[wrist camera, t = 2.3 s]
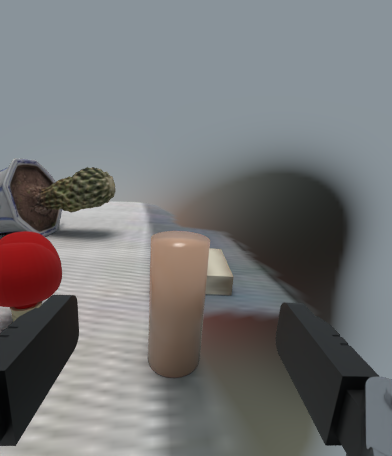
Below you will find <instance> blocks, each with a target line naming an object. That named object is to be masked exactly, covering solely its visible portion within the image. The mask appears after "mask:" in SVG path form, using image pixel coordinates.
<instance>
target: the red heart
mask: <svg viewBox="0 0 392 456" xmlns="http://www.w3.org/2000/svg"><path fill="white" fill-rule="evenodd" d="M61 279H62V267H61V261H60V258H59V255H58V253H57V251H56V249H55V248H54V246H53V245H52V244H51V242H50V241H49V240H48V239H46V238H45V237H44V236H43V235H41V234H39V233H36V232H30V231H23V232H14V233H11V234H8V235H6V236H4V237H3V238H1V239H0V306H2V307H10V309H11V312H12V320H13V322H14V321H15V320H16V319H17V318H18V317H19V316H21V315H23V314H25V313H27V312H29V311H30V310H32V309H34V308H39V307H40V306H41V305H42V301H43V300H46V299H47V298H49V297H50V296H51V295H53V293H54V292H55V291H56V290H57V289H58V287H59V285H60V283H61Z"/></svg>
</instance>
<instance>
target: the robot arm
mask: <svg viewBox="0 0 392 456" xmlns="http://www.w3.org/2000/svg"><path fill="white" fill-rule="evenodd" d="M78 337H79V323H78V305H77V298H76V296H74V295H52V296H51V297H50V298H49V299H48V300H47V301H45V302H44V303H43V304H42V305H41V306H40V307H39V308H34V309H32V310H30V311H29V312H27V313H25V314H23V315H21V316H19V317H18V318H17V319H16V320H15V321H14V322H13V323H12V324H10V325H9V326H8V329H5V330H4V331H3V332H1V333H0V446H16V444H17V443H18V441H19V439H20V438H21V436H22V435H23V433H24V431H25V430H26V428H27V426H28V425H29V423H30V421H31V420H32V418H33V417H34V415H35V413H36V412H37V410H38V408H39V407H40V405H41V403H42V402H43V400H44V399H45V397H46V395H47V394H48V392H49V390H50V389H51V387H52V385H53V384H54V382H55V381H56V379H57V377H58V376H59V374H60V372H61V371H62V369H63V367H64V366H65V364H66V363H67V361H68V359H69V358H70V356H71V354H72V353H73V351H74V349H75V347H76V345H77V342H78ZM276 347H277V351H278V354H279V356H280V358H281V360H282V361H283V364H284V365H285V368H286V369H287V371H288V373H289V375H290V377H291V379H292V381H293V383H294V385H295V387H296V389H297V391H298V393H299V395H300V397H301V399H302V400H303V402H304V404H305V406H306V408H307V410H308V412H309V414H310V416H311V418H312V420H313V422H314V424H315V426H316V427H317V430H318V432H319V434H320V436H321V437H322V439H323V441H324V443H325V445H342V446H343V448H344V450H345V451H346V453H347V454H346V456H392V379H388V378H384V377H379V375H377V374H376V373H375V371H374V370H373V369H372V368H371V367H370V366H369V365H368V364H367V363H366V362H365V361H364V360H363V359H362V358H361V357H360V355H358V354H357V352H356V351H355V350H354V349H353V348H352V347H351V346H349V345H348V343H347V342H346V341H345V340H344V339H343V338H342V337H340V334H339V333H338V332H337V331H336V330H335V329H334V328H333V327H332V326H331V325H330V324H328V323H327V322H325V321H324V320H322V319H321V318H319V317H315V316H314V314H313V313H312V312H311V311H310V310H309V309H308V308H307V307H306V306H305V305H304V304H303V303H282V305H281V308H280V314H279V320H278V326H277V332H276Z"/></svg>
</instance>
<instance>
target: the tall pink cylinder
mask: <svg viewBox="0 0 392 456" xmlns="http://www.w3.org/2000/svg"><path fill="white" fill-rule="evenodd" d="M209 247H210V240H209V238H207V237H206V236H203V235H201V234H197V233H193V232H186V231H166V232H160V233H157V234H154V235H153V236H152V237H151V262H150V300H149V339H148V362H149V365H150V367H151V368H152V369H153V370H154V371H155V372H156V373H157V374H159V375H161V376H164V377H169V378H178V377H183V376H186V375H188V374H190V373H191V372H193V371H194V370H195V368H196V367H197V366H198V363H199V359H200V348H201V337H202V325H203V314H204V303H205V292H206V280H207V269H208V258H209Z"/></svg>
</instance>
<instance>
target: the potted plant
mask: <svg viewBox="0 0 392 456" xmlns="http://www.w3.org/2000/svg"><path fill="white" fill-rule="evenodd" d="M114 193H115V184H114V180H113V177H112V176H110V175H109V174H108V173H107V172H103V171H102V170H101V169H97V168H94V167H93V168H88V167H87V168H85V169H82V170H80V171H79V172H76V173H75V174H74V175H73V176H72V177H68V178H65V179H61V180H58V181H57V182H55V180H54V179H53V177H52V176H51V175H50V174H49V172H48V171H47V170H46V169H45V168H43V167H42V166H41V165H40V164H39V163H38V162H37V161H35V160H28V159H13V160H12V162H11V163H10V165H9V167H8V168H6V169H4V170H1V171H0V233H9V232H23V231H30V232H36V233H39V234H41V235H43V236H44V237H45V236H47V235H49V234H51V233H54V232H55V231H57V230H58V227H59V223H60V218H61V212H62V209H63V210H64V211H69V212H76V211H78V210H80V209H86V208H93V207H99V206H102V205H103V204H104V203H108V202H109V200H110V199H111V198H113V197H114Z"/></svg>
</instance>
